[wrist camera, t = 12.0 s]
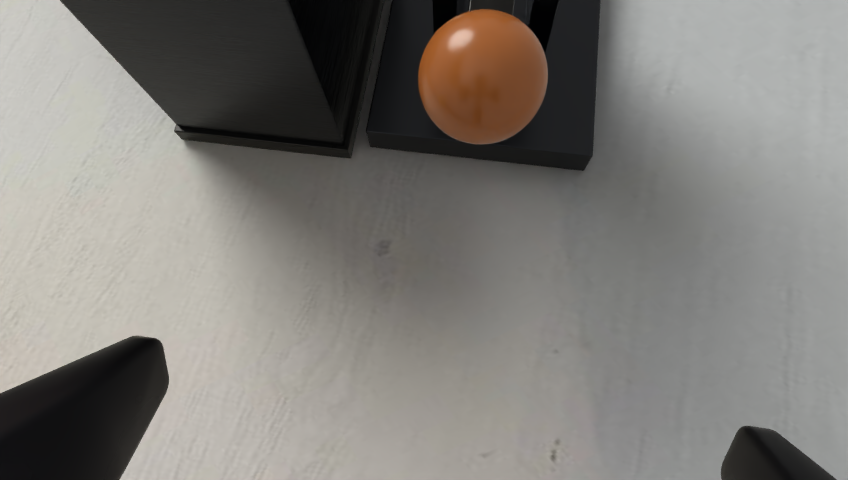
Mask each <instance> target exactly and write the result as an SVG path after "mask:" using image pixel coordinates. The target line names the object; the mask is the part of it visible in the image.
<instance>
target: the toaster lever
mask: <svg viewBox="0 0 848 480" xmlns="http://www.w3.org/2000/svg"><path fill="white" fill-rule="evenodd" d="M514 1H515V0H469V6H468V12H465V13H462V14H459V15H457V16H455V17H453V18H452V19H450V20H449V21H447V22H446V23H445V24H444V25H442V26H441V27H440V28H439V29H438V30H437V31H436V32H435V33H434V34H433V36H432V37H431V39H430V40H429V42H428V43H427V45H426V47H425V49H424V51H423V54H422V57H421V60H420V64H419V69H418V89H419V94H420V98H421V101H422V104H423V107H424V109H425V111H426V113H427V114H428V116H429V117H430V119H431V120H432V121H433V123H434V124H435V125H436V126H437V127H438V128H439V129H440V130H442V131H443V132H444V133H445V134H447V135H449V136H450V137H452V138H454V139H456V140H459V141H462V142H465V143H470V144H480V145H483V144H492V143H497V142H500V141H503V140H506V139H508V138H510V137H512V136H514V135H515V134H517V133H518V132H520V131H521V130H522V129H523V128H524V127H525V126H527V125H528V124H529V123H530V121H531V120H532V119H533V118H534V116H535V115H536V113H537V112H538V110H539V108H540V106H541V104H542V102H543V100H544V97H545V93H546V89H547V83H548V67H547V60H546V56H545V53H544V50H543V48H542V46H541V43H540V42H539V40H538V38H537V36H536V35H535V34H534V33H533V31H532V30H531V29H530V28H529V27H528V26H527V25H526V24H525V23H523V22H522V21H521V20H519V19H518V18H516V17H514V16H513V9H514Z"/></svg>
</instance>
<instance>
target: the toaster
mask: <svg viewBox="0 0 848 480" xmlns="http://www.w3.org/2000/svg"><path fill="white" fill-rule="evenodd" d="M60 1H61V2H62V3H63V4H64V5H65V6H66V7H67V8H68V9H69V11H70V12H71V13H72V14H73V15H74V16H75V17H76V18H77V19H78V20H79V21H80V22H81V23H82V24H83V25H84V26H85V28H86V29H87V30H88V31H89V32H90V33H91V34H92V35H93V36H94V37H95V38H96V39H97V40H98V41H99V42H100V43H101V45H102V46H103V47H104V48H105V49H106V50H107V51H108V52H109V53H110V54H111V55H112V56H113V57H114V58H115V59H116V60H117V62H118V63H119V64H120V65H121V66H122V67H123V68H124V69H125V70H126V71H127V72H128V73H129V74H130V75H131V76H132V77H133V79H134V80H135V81H136V82H137V83H138V84H139V85H140V86H141V87H142V88H143V89H144V90H145V91H146V92H147V93H148V94H149V96H150V97H151V98H152V99H153V100H154V101H155V102H156V103H157V104H158V105H159V106H160V107H161V108H162V109H163V110H164V111H165V113H166V114H167V115H168V116H169V117H170V118H171V119H172V120H173V121H174V122H175V123H176V127H175V130H174V131H175V133H176V134H177V135H178V136H179V137H180V138H181V139H185V140H193V141H202V142H211V143H220V144H229V145H237V146H246V147H255V148H264V149H273V150H281V151H290V152H299V153H308V154H317V155H326V156H334V157H343V158H351V154H352V149H353V145H354V140H355V135H356V130H357V126H358V121H359V116H360V111H361V107H362V102H363V97H364V92H365V88H366V83H367V78H368V73H369V69H370V64H371V59H372V54H373V49H374V45H375V40H376V35H377V30H378V26H379V21H380V16H381V11H382V7H383V2H384V0H60Z"/></svg>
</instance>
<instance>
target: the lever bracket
mask: <svg viewBox="0 0 848 480" xmlns="http://www.w3.org/2000/svg"><path fill="white" fill-rule="evenodd" d="M468 6H469V0H392V5H391V10H390V15H389V20H388V25H387V30H386V35H385V40H384V44H383V49H382V54H381V59H380V64H379V69H378V74H377V79H376V84H375V89H374V94H373V98H372V103H371V108H370V113H369V118H368V123H367V128H366V133H367V136H368V140H369V143H370V147H375V148H384V149H393V150H402V151H411V152H420V153H429V154H438V155H447V156H456V157H465V158H474V159H483V160H492V161H501V162H510V163H519V164H528V165H537V166H546V167H555V168H564V169H573V170H582V171H583V170H585V168H586V166H587V164H588V163H589V161H590V159H591V157H592V155H593V137H594V117H595V98H596V78H597V59H598V39H599V20H600V0H515V1H514V9H513V16H514V17H516V18H518V19H519V20H521V21H522V22H523V23H525V24H526V25H527V26H528V27H529V28H530V29H531V30H532V31H533V33H534V34H535V35H536V36H537V38H538V40H539V42H540V43H541V46H542V48H543V50H544V53H545V56H546V60H547V67H548V83H547V89H546V93H545V97H544V100H543V102H542V104H541V106H540V108H539V110H538V112H537V113H536V115H535V116H534V118H533V119H532V120H531V121H530V123H529V124H528V125H527V126H525V127H524V128H523V129H522V130H521V131H520V132H518V133H517V134H515V135H514V136H512V137H510V138H508V139H506V140H503V141H500V142H497V143H492V144H483V145H480V144H470V143H465V142H462V141H459V140H456V139H454V138H452V137H450V136H449V135H447V134H445V133H444V132H443V131H442V130H440V129H439V128H438V127H437V126H436V125H435V124H434V123H433V121H432V120H431V119H430V117H429V116H428V114H427V113H426V111H425V109H424V107H423V104H422V101H421V98H420V94H419V89H418V69H419V64H420V60H421V57H422V54H423V51H424V49H425V47H426V45H427V43H428V42H429V40H430V39H431V37H432V36H433V34H434V33H435V32H436V31H437V30H438V29H439V28H440V27H441V26H442V25H444V24H445V23H446V22H447V21H449V20H450V19H452V18H453V17H455V16H457V15H459V14H462V13H465V12H468Z"/></svg>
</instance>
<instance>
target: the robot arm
mask: <svg viewBox="0 0 848 480" xmlns="http://www.w3.org/2000/svg"><path fill="white" fill-rule="evenodd" d="M168 384H169V375H168V370H167V365H166V359H165V354H164V349H163V345H162V343H161V342H160V341H159V340H158V339H156V338H150V337H143V336H132V337H129V338H127V339H124V340H122V341H120V342H117V343H115V344H113V345H111V346H108V347H106V348H104V349H101V350H99V351H97V352H95V353H92V354H90V355H88V356H85V357H83V358H81V359H78V360H76V361H74V362H72V363H69V364H67V365H65V366H62V367H60V368H58V369H55V370H53V371H51V372H49V373H46V374H44V375H42V376H39V377H37V378H35V379H32V380H30V381H28V382H26V383H23V384H21V385H19V386H16V387H14V388H12V389H10V390H7V391H5V392H3V393H0V480H119V479H120V478H121V476H122V474H123V472H124V471H125V469H126V467H127V465H128V463H129V462H130V460H131V458H132V456H133V454H134V452H135V450H136V448H137V447H138V445H139V443H140V441H141V439H142V437H143V435H144V433H145V431H146V430H147V428H148V426H149V424H150V422H151V420H152V418H153V416H154V415H155V413H156V411H157V409H158V407H159V405H160V403H161V401H162V400H163V398H164V396H165V394H166V391H167V389H168ZM721 479H722V480H836V479H835V478H834V477H833V476H831V475H830V474H829V473H828V472H826V471H825V470H824V469H823V468H821V467H820V466H819V465H818V464H816V463H815V462H814V461H813V460H811V459H810V458H809V457H807V456H806V455H805V454H804V453H802V452H801V451H800V450H799V449H797V448H796V447H795V446H794V445H792V444H791V443H790V442H789V441H787V440H786V439H785V438H784V437H782V436H781V435H780V434H778V433H777V432H776V431H774V430H771V429H766V428H759V427H753V426H743V427H741V428H740V429H739V430H738V432H737V433H736V435H735V437H734V440H733V442H732V444H731V446H730V448H729V450H728V452H727V454H726V456H725V459H724V461H723V463H722V467H721Z"/></svg>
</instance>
